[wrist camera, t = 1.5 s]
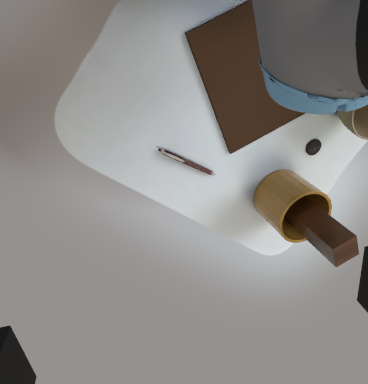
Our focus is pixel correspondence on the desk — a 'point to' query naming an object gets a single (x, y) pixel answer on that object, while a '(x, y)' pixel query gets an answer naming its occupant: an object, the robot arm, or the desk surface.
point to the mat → (236, 77)
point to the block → (322, 231)
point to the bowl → (356, 121)
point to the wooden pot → (286, 200)
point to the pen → (185, 161)
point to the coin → (313, 147)
